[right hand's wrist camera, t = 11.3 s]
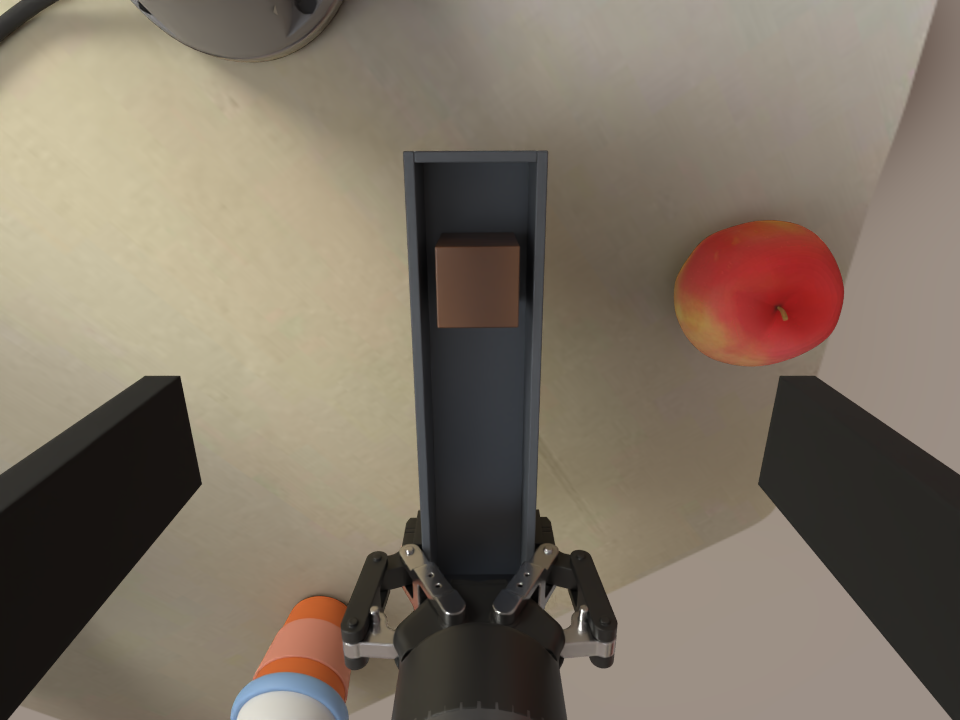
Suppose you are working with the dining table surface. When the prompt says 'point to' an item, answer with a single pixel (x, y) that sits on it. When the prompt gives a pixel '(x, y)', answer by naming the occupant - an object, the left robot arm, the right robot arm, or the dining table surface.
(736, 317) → the apple
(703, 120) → the dining table surface
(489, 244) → the walnut block
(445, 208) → the grey trough
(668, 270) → the dining table surface
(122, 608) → the dining table surface
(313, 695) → the cup with straw
